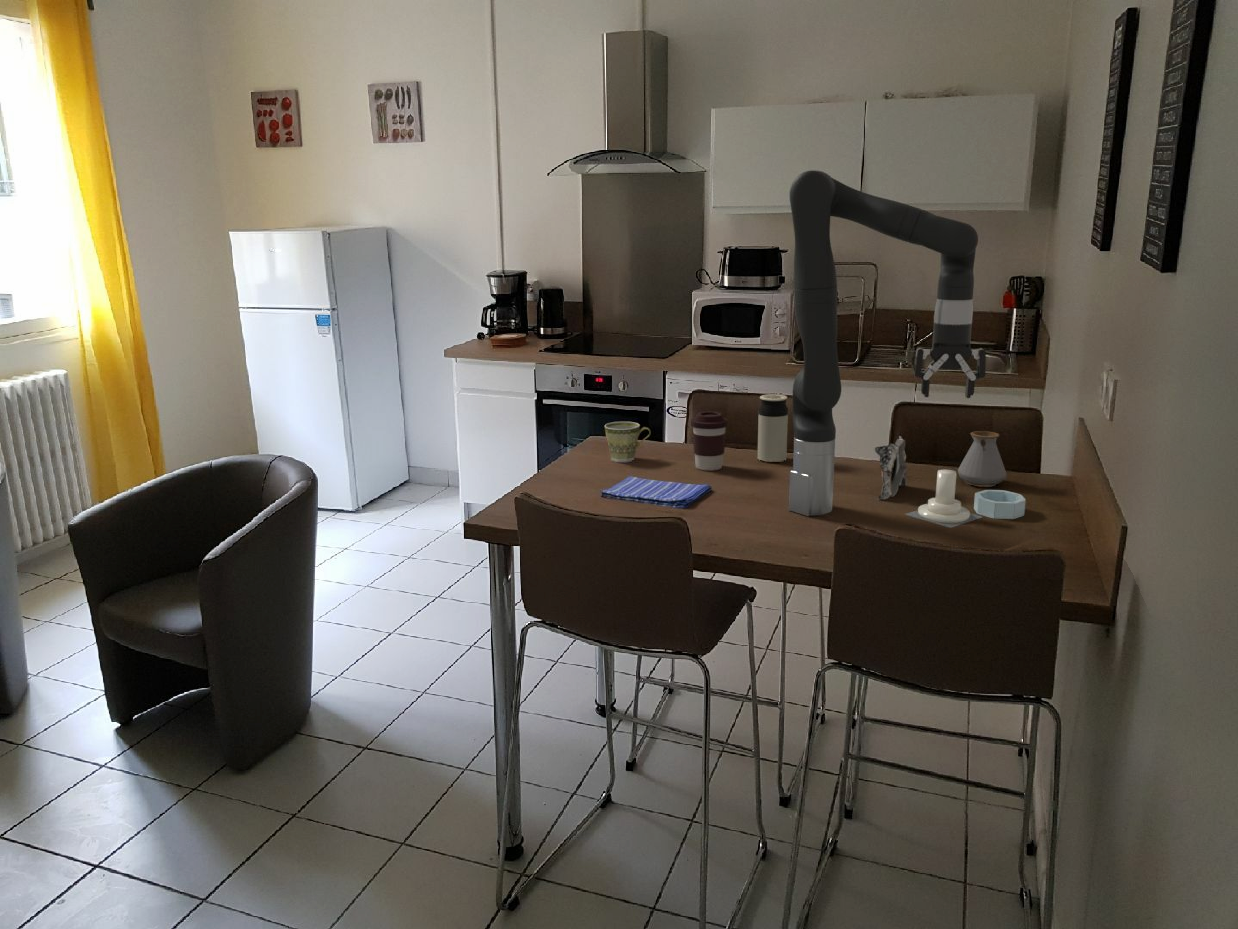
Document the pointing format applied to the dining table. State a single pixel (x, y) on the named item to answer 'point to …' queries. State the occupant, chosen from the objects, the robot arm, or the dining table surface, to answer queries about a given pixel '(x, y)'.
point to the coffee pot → (983, 461)
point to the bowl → (999, 504)
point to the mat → (950, 525)
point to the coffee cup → (709, 440)
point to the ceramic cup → (623, 440)
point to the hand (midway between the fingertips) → (946, 397)
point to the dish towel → (656, 492)
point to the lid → (944, 501)
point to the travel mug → (772, 428)
